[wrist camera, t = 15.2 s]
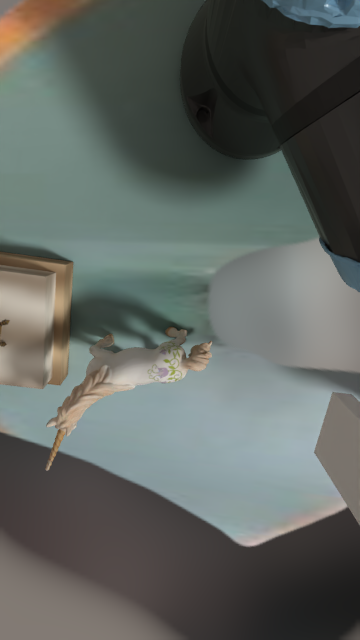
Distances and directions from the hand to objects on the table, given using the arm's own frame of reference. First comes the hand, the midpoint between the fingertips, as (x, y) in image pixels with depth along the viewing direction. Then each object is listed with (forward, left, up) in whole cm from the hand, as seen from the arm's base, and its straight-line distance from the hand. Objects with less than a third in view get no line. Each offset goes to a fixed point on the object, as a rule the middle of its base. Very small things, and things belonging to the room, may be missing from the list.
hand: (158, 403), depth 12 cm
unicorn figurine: (+12, -2, -29) cm, 31 cm away
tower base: (+7, -19, -29) cm, 35 cm away
